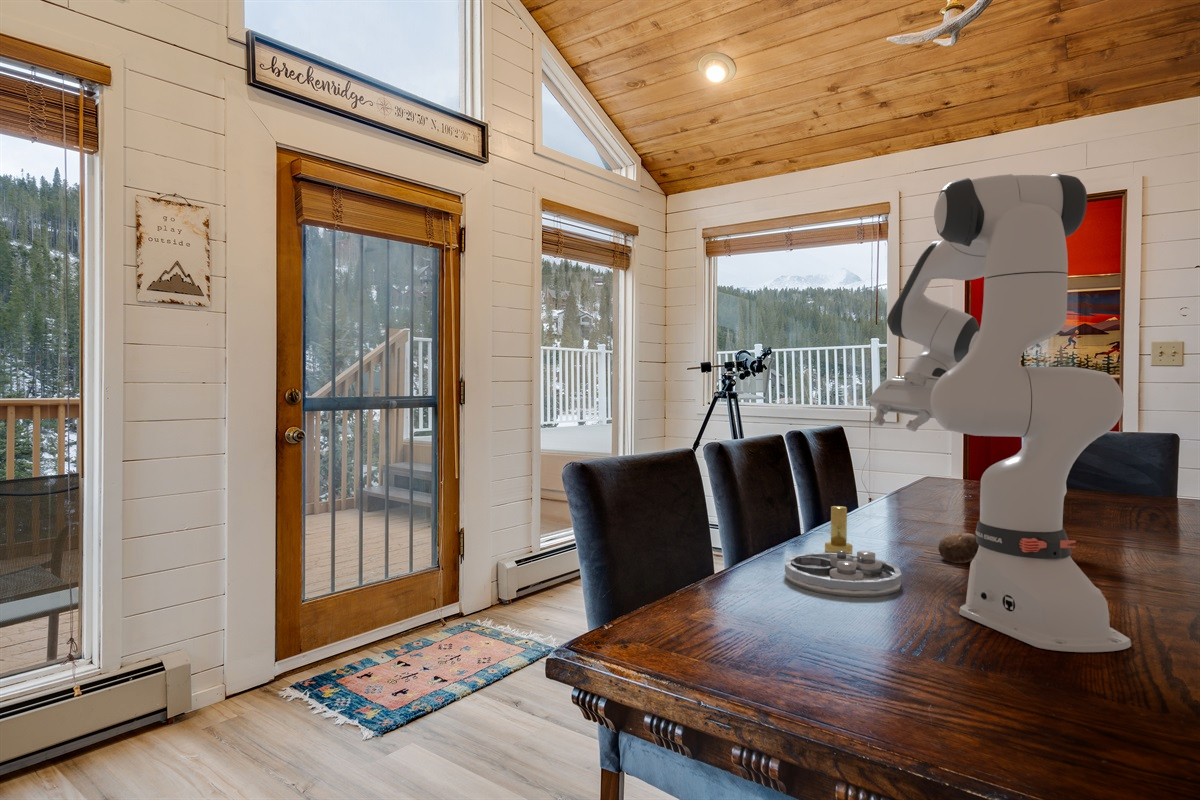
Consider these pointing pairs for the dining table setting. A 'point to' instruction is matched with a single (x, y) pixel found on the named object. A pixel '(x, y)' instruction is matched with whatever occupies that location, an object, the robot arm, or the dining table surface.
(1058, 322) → the robot arm
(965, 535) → the brown rounded lump
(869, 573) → the carrier
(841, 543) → the yellow peg
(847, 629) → the dining table surface
